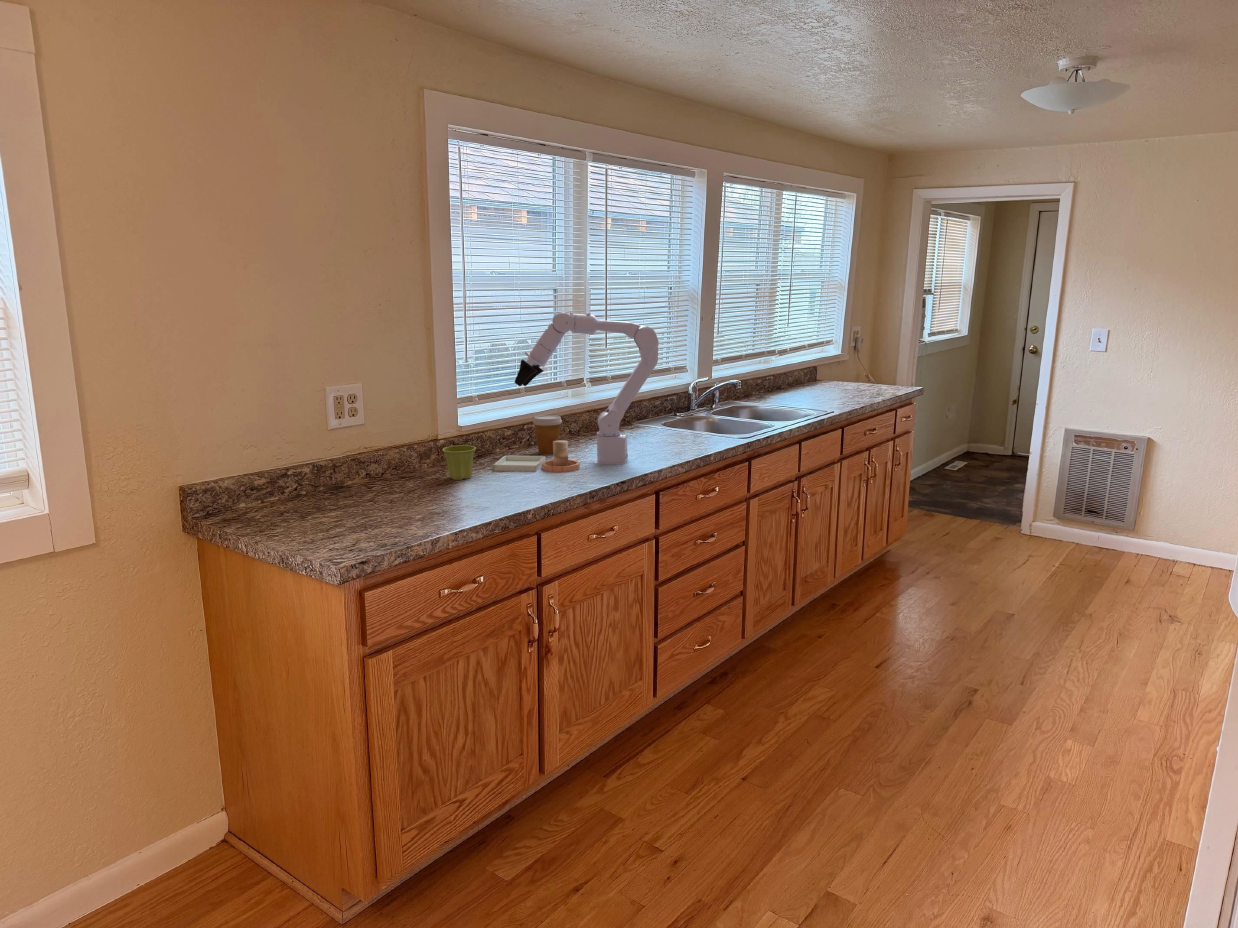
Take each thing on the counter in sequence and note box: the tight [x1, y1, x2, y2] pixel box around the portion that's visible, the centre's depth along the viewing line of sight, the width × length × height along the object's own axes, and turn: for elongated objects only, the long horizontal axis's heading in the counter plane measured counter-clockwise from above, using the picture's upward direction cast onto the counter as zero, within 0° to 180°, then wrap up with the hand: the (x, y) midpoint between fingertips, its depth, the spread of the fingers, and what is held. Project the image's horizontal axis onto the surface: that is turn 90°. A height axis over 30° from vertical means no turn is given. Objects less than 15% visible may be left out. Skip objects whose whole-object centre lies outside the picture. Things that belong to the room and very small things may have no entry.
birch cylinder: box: [552, 439, 569, 466], centre depth 255 cm, size 4×4×8 cm
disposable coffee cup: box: [532, 414, 563, 456], centre depth 280 cm, size 10×10×12 cm
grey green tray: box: [492, 455, 547, 472], centre depth 259 cm, size 13×14×2 cm
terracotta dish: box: [541, 458, 581, 473], centre depth 256 cm, size 11×11×2 cm
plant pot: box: [442, 444, 477, 481], centre depth 246 cm, size 9×9×9 cm
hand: (519, 384), depth 258 cm, fingers open, 7 cm apart
